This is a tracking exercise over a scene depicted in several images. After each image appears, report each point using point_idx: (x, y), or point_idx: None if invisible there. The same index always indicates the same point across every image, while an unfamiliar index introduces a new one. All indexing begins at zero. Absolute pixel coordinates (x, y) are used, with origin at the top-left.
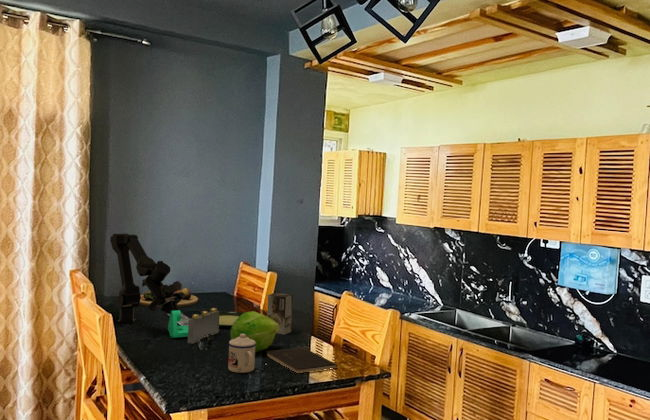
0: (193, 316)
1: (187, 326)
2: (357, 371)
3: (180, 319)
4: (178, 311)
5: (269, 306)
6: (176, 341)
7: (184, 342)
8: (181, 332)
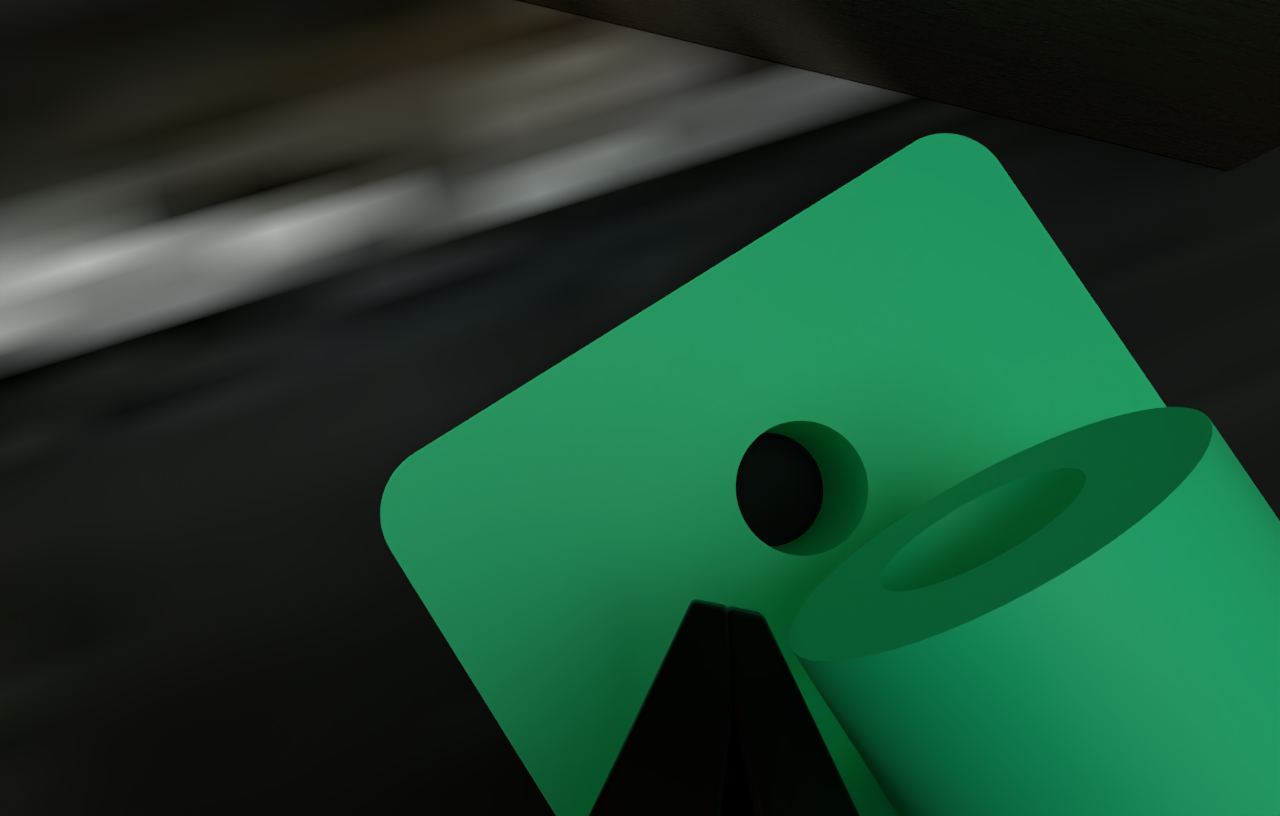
0: None
1: (466, 428)
2: None
3: (1069, 441)
4: (1261, 560)
5: None
6: (1193, 401)
7: (1204, 238)
8: (1076, 359)
